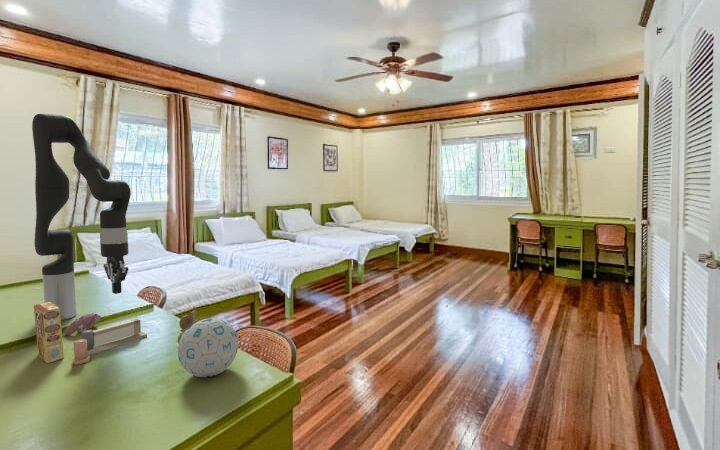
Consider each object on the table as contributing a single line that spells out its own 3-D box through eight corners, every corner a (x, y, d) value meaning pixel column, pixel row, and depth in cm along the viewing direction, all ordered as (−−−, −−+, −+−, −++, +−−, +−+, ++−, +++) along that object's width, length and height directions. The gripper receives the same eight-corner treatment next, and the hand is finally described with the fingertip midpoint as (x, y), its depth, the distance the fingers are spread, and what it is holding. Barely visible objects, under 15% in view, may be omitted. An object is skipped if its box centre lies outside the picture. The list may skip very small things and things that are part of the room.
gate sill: (78, 352, 110) (77, 349, 110) (141, 333, 125) (141, 331, 125) (83, 356, 108) (83, 353, 108) (147, 336, 123) (146, 333, 123)
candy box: (64, 358, 107) (61, 307, 105) (46, 364, 103) (42, 311, 102) (54, 350, 112) (51, 301, 110) (36, 355, 108) (32, 304, 107)
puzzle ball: (248, 364, 106) (248, 313, 104) (217, 392, 91) (215, 333, 90) (202, 357, 109) (201, 308, 108) (165, 383, 94) (162, 327, 93)
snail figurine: (203, 343, 118) (202, 307, 117) (187, 352, 112) (186, 314, 111) (189, 341, 120) (188, 305, 119) (173, 349, 114) (172, 311, 113)
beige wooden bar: (85, 350, 109) (83, 334, 108) (81, 348, 110) (80, 331, 110) (141, 333, 122) (140, 318, 122) (137, 331, 124) (136, 317, 123)
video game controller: (72, 341, 122) (78, 323, 121) (61, 333, 123) (68, 316, 122) (98, 329, 132) (105, 313, 131) (88, 323, 133) (95, 307, 131)
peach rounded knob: (70, 362, 105) (69, 341, 104) (86, 356, 108) (85, 337, 107) (75, 366, 102) (74, 345, 102) (92, 360, 106) (91, 340, 105)
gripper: (92, 240, 121) (95, 292, 122) (110, 244, 113) (113, 299, 115) (117, 238, 127) (120, 287, 128) (136, 241, 119) (138, 293, 121)
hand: (117, 293), depth 122 cm, fingers closed
